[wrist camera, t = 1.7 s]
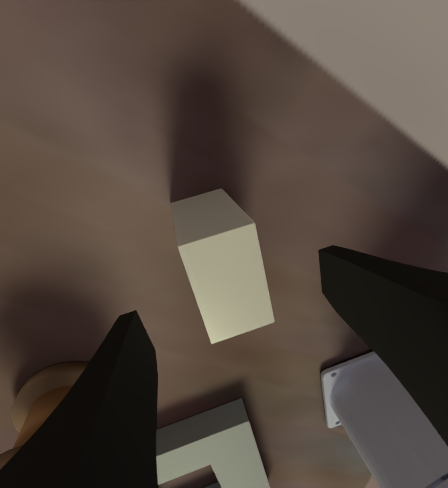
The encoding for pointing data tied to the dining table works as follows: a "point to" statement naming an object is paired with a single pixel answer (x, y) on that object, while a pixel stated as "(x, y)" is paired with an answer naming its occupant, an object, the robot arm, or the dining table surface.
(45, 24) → the dining table surface
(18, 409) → the wooden knob
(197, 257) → the tab block
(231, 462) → the notched board
